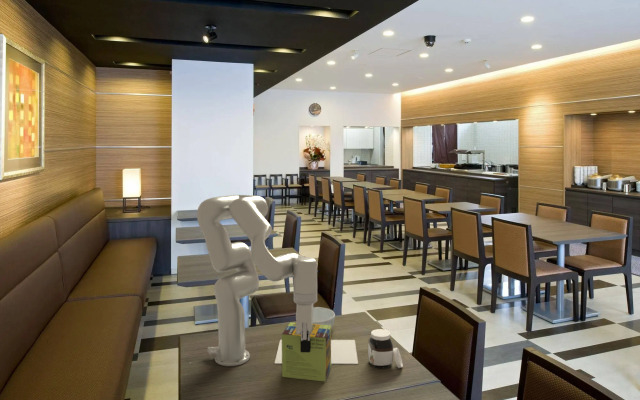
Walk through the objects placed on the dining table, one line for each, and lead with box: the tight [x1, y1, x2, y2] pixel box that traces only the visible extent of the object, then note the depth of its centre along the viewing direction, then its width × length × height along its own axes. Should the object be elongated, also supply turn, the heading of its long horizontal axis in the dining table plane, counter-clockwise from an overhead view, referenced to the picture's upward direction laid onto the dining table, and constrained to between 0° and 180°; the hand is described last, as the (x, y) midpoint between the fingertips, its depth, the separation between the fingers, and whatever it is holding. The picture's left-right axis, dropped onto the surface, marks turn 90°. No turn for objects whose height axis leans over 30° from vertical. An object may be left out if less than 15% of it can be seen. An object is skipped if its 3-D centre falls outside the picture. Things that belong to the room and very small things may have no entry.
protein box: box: [281, 321, 332, 382], centre depth 158 cm, size 10×15×16 cm
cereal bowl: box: [313, 306, 336, 328], centre depth 195 cm, size 17×17×7 cm
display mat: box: [274, 339, 359, 365], centre depth 175 cm, size 30×20×1 cm, turn 89°
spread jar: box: [367, 328, 404, 369], centre depth 164 cm, size 12×11×12 cm
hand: (305, 351), depth 148 cm, fingers closed
